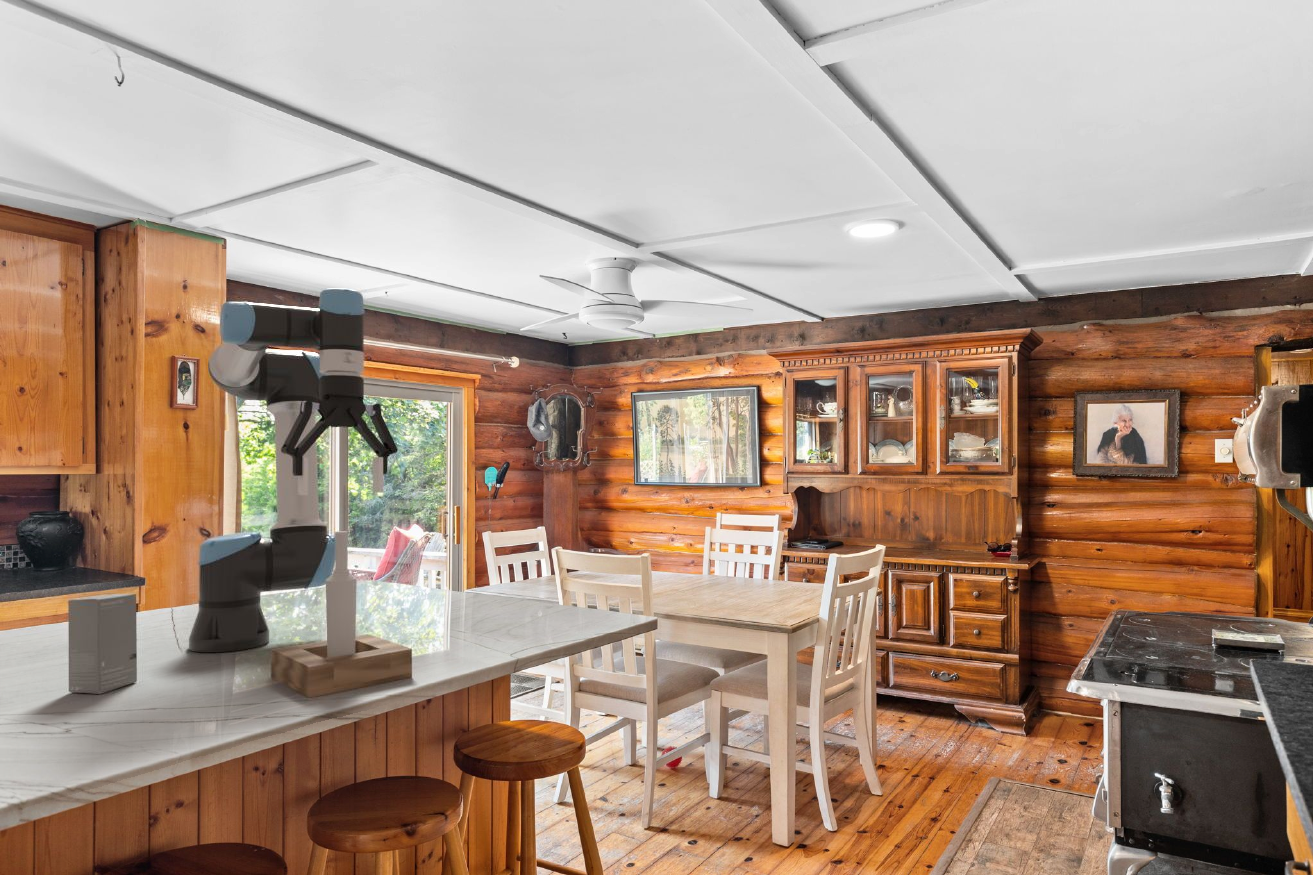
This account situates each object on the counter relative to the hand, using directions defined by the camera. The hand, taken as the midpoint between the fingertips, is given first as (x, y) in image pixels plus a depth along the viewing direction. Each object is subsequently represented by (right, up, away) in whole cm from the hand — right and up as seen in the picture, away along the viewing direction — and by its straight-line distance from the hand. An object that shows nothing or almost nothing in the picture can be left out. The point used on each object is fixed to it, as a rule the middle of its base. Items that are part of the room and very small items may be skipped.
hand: (341, 493), depth 149 cm
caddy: (0, -33, -1) cm, 33 cm away
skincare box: (-39, -33, -6) cm, 51 cm away
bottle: (0, -32, -1) cm, 32 cm away
